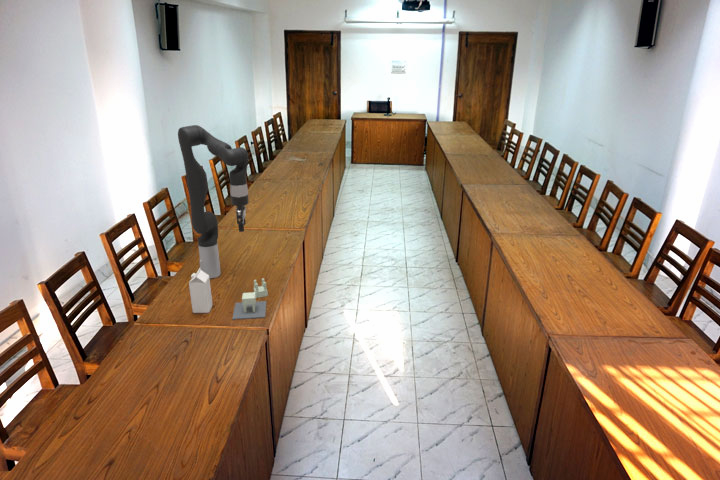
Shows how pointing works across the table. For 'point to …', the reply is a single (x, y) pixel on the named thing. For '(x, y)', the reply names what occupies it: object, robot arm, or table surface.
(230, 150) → the robot arm
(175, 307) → the table surface
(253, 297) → the cube with twin tabs
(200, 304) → the milk carton
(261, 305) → the mat
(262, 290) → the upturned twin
